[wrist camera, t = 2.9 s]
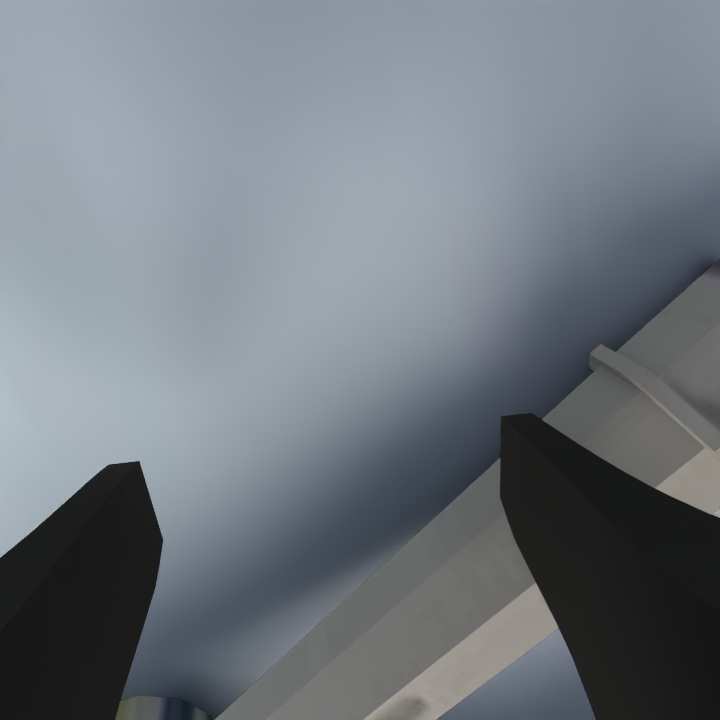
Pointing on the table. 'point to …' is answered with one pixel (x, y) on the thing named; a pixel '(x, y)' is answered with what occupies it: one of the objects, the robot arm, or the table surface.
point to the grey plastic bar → (496, 546)
